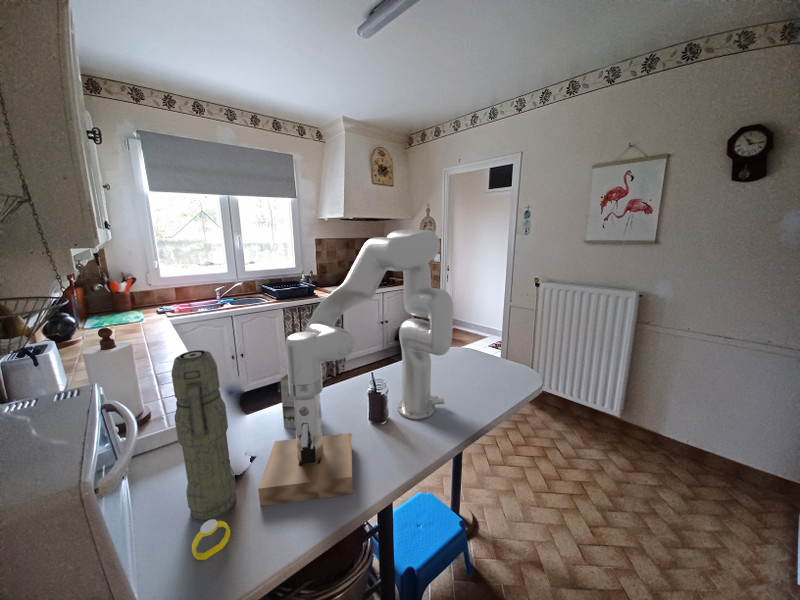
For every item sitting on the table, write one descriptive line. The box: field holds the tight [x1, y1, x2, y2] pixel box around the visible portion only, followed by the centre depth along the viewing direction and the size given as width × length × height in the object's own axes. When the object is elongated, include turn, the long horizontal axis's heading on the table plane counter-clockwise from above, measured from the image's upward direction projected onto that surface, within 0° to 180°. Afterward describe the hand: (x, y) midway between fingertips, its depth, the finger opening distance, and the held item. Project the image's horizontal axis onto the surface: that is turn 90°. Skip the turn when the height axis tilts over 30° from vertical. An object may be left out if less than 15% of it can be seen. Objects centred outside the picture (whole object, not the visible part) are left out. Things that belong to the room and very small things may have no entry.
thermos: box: [171, 349, 237, 523], centre depth 64 cm, size 9×12×35 cm
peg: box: [295, 425, 323, 465], centre depth 75 cm, size 6×6×11 cm
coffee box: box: [280, 373, 296, 430], centre depth 97 cm, size 9×6×16 cm
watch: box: [191, 519, 231, 561], centre depth 57 cm, size 6×3×6 cm, turn 136°
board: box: [257, 432, 354, 507], centre depth 76 cm, size 20×16×4 cm
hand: (310, 452), depth 76 cm, fingers closed on peg, 5 cm apart
